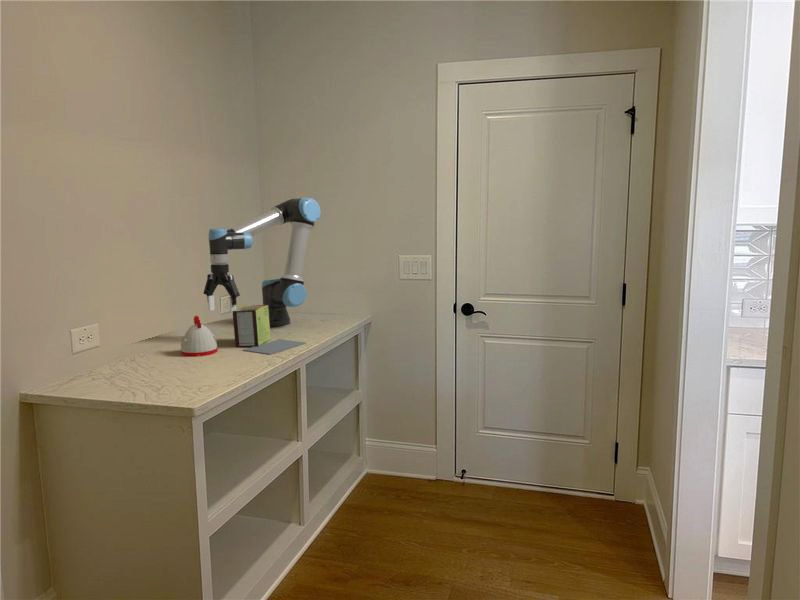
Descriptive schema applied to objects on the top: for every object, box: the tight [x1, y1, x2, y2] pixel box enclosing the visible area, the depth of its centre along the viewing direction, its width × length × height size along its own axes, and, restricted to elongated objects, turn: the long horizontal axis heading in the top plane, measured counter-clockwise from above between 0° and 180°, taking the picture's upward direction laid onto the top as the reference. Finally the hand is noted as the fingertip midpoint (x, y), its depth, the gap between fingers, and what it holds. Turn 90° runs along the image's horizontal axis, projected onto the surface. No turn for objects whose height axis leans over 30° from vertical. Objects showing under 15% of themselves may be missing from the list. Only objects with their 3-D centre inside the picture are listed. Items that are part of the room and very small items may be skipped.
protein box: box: [232, 304, 271, 348], centre depth 233 cm, size 10×15×16 cm
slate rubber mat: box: [242, 338, 307, 356], centre depth 226 cm, size 22×15×1 cm
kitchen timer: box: [180, 315, 218, 358], centre depth 218 cm, size 14×14×15 cm
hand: (222, 311), depth 241 cm, fingers open, 13 cm apart
